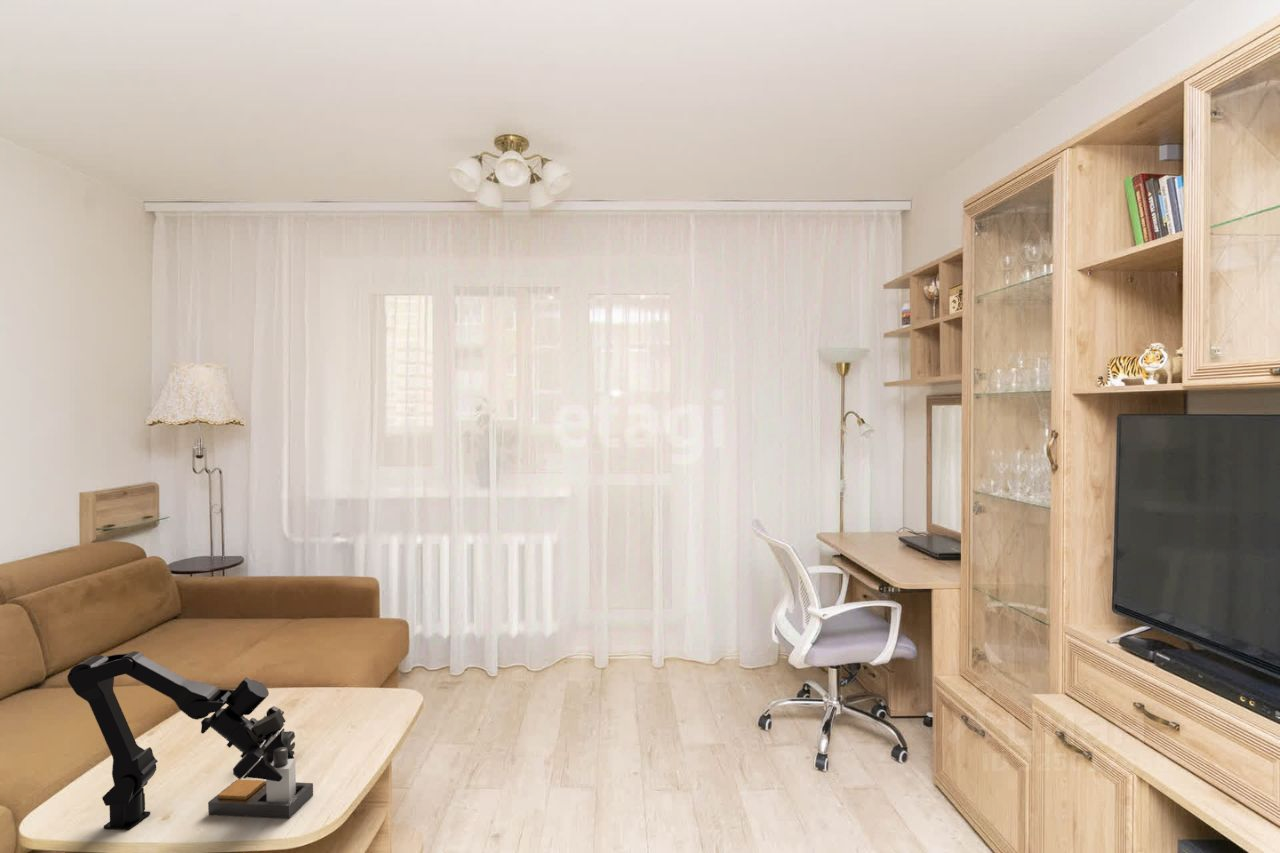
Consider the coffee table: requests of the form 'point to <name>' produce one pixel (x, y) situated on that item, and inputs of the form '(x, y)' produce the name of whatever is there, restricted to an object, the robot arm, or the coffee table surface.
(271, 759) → the end cap
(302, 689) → the coffee table surface
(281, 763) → the white soap bottle
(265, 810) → the two-compartment sponge tray
